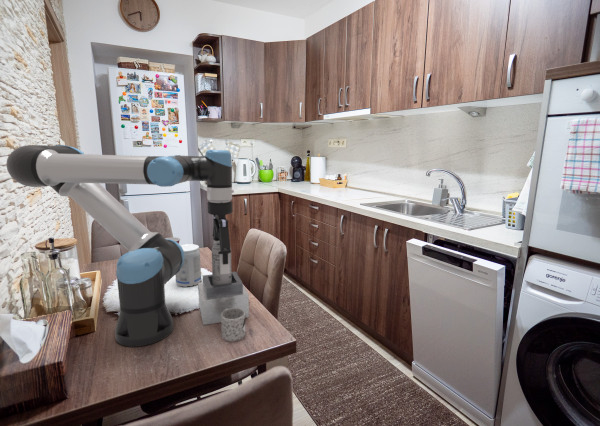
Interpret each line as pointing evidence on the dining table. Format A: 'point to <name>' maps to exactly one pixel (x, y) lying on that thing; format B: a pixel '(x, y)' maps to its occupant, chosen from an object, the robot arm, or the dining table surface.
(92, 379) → the dining table surface
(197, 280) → the supplement tub
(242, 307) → the block
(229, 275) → the energy drink can
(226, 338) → the mug
